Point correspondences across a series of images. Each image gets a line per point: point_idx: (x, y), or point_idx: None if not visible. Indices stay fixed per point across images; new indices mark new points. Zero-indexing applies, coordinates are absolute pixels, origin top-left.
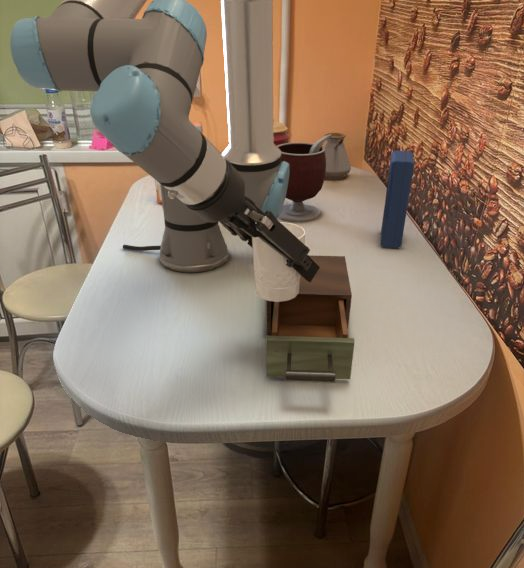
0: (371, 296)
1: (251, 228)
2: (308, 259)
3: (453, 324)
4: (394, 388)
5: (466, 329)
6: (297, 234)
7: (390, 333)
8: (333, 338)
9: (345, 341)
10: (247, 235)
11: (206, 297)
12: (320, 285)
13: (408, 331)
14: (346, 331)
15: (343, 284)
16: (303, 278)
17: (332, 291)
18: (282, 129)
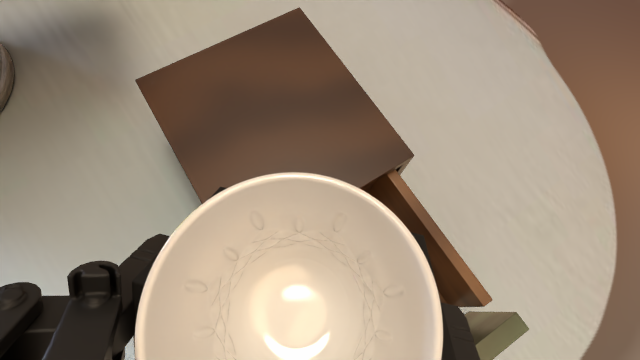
0: (345, 47)
1: (114, 330)
2: (472, 339)
3: (498, 60)
4: (535, 285)
5: (520, 64)
6: (333, 203)
7: (436, 136)
8: (484, 344)
9: (513, 339)
10: (115, 349)
11: (48, 218)
12: (330, 154)
13: (455, 115)
14: (482, 290)
15: (371, 122)
16: (276, 145)
17: (369, 164)
18: None
